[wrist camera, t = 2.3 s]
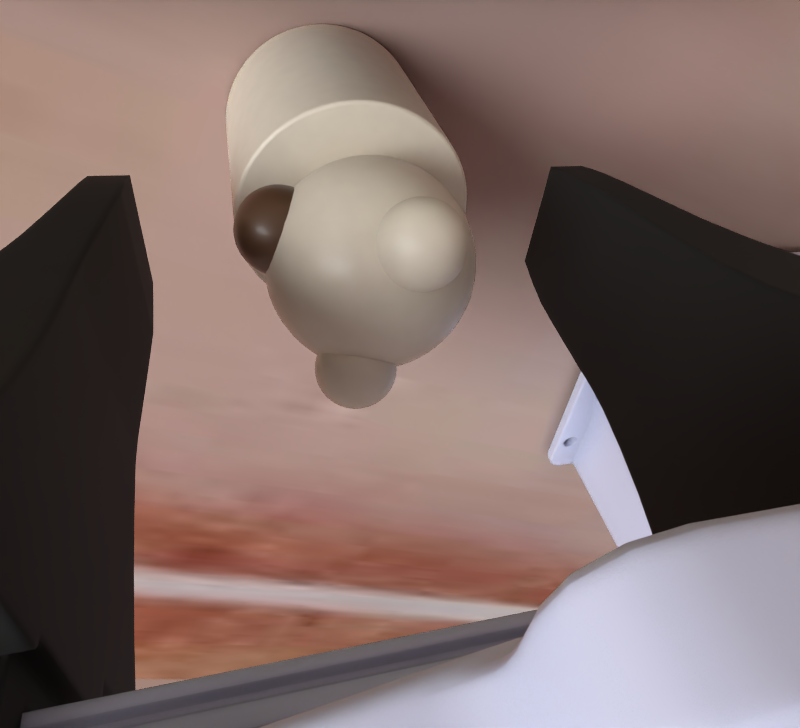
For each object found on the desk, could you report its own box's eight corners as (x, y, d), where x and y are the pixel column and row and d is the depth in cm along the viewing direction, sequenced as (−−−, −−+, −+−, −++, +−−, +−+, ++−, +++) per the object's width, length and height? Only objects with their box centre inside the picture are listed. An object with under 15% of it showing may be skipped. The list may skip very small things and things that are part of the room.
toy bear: (446, 69, 14) (593, 255, 9) (370, 229, 16) (451, 448, 11) (253, -17, 12) (297, 157, 7) (200, 179, 14) (202, 418, 9)
